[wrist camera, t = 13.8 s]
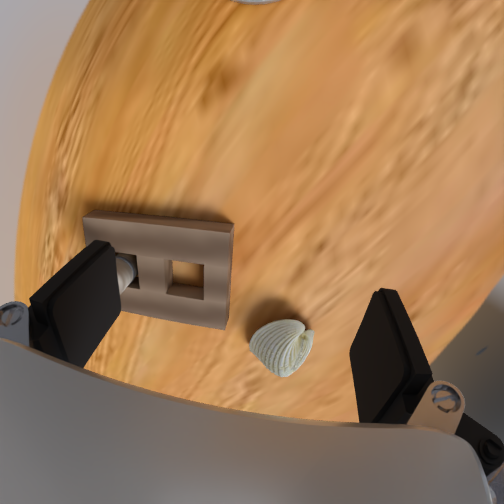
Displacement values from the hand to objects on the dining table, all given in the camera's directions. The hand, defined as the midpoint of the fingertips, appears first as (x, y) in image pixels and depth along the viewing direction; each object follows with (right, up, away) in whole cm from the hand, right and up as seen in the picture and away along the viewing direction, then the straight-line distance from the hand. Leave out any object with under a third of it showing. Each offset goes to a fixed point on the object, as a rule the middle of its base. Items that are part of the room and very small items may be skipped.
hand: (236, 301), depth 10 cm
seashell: (+5, -9, +33) cm, 35 cm away
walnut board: (-12, 0, +30) cm, 33 cm away
